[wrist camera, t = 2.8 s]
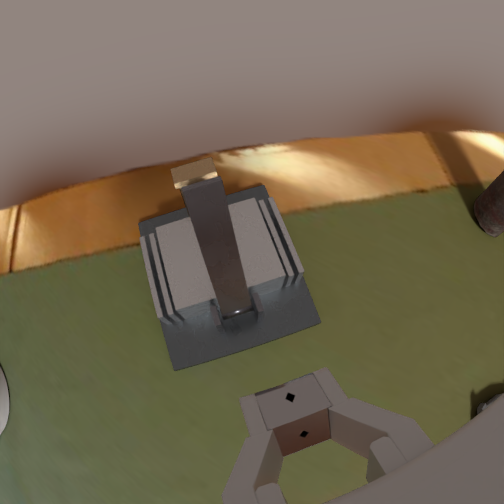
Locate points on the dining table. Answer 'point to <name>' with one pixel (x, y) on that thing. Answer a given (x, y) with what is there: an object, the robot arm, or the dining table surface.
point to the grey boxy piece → (199, 284)
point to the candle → (491, 207)
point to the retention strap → (218, 245)
